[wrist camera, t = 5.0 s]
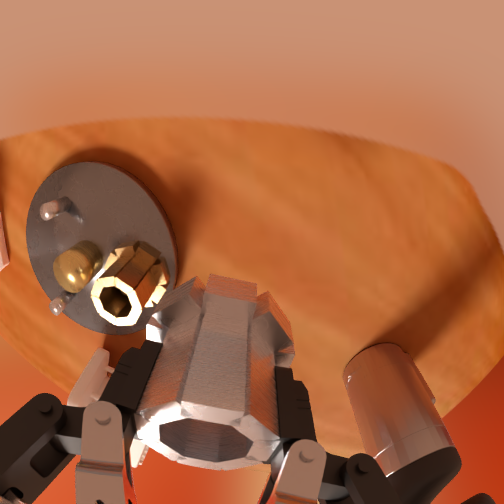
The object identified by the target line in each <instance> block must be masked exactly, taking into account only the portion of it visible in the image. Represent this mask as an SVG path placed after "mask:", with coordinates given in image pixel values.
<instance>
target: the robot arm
mask: <svg viewBox="0 0 504 504" xmlns="http://www.w3.org/2000/svg"><path fill="white" fill-rule="evenodd" d="M162 344H163V343H160V342H157V341H153V340H149V339H146V340H145V341H144V343H143V345H142V347H141V349H137V348H133V347H132V348H130V349H129V350H127V351H126V352H125V353H123V355H122V357H121V358H120V360H119V362H118V364H117V366H116V368H115V370H114V372H113V373H112V375H111V377H110V379H109V381H108V383H107V385H106V387H105V389H104V391H103V393H102V395H101V396H100V398H99V400H98V401H96V402H93V403H91V404H89V405H88V406H87V407H74V406H67V405H62V404H61V402H60V400H59V399H58V398H57V397H56V396H54V395H52V394H48V393H42V394H38V395H36V396H35V397H33V398H32V399H31V400H30V401H29V402H27V403H26V404H25V405H24V406H23V407H22V408H21V409H20V410H18V411H17V412H16V413H15V414H14V415H12V416H11V417H10V418H9V419H8V420H7V421H5V422H4V423H3V424H2V425H1V426H0V504H32V503H33V502H34V501H35V500H36V498H37V497H38V496H39V495H40V494H41V493H42V492H43V491H44V490H45V488H47V486H48V485H49V484H50V483H51V482H52V481H53V480H54V479H55V478H56V477H57V475H58V474H59V473H60V472H61V471H62V470H63V469H64V468H65V467H66V466H67V464H68V463H69V462H70V461H71V460H72V459H73V458H74V457H75V456H76V455H81V459H80V462H79V463H77V465H76V470H75V488H76V504H137V499H136V495H135V491H134V485H133V477H132V466H131V455H130V447H131V444H132V441H133V439H137V440H140V441H141V438H138V434H137V428H136V423H135V417H134V413H135V414H136V410H137V407H138V404H139V402H140V399H141V397H142V394H143V391H144V389H145V386H146V384H147V381H148V379H149V376H150V374H151V371H152V369H153V366H154V364H155V361H156V359H157V356H158V354H159V352H160V349H161V347H162ZM275 377H276V389H277V403H278V416H279V430H280V439H279V441H280V443H279V444H278V446H277V447H276V449H275V450H274V451H273V453H272V454H271V456H270V457H269V459H268V460H267V461H263V464H271V472H270V474H269V475H268V478H267V480H266V483H265V485H264V488H263V490H262V493H261V495H260V498H259V500H258V503H257V504H317V499H318V501H319V503H320V504H430V503H431V502H432V501H433V499H434V498H435V497H436V496H437V495H438V493H439V492H440V491H441V490H442V489H443V488H444V487H445V486H446V485H447V484H448V483H449V482H450V481H451V480H452V479H453V478H454V477H455V476H456V475H457V474H458V472H459V471H460V469H461V465H462V463H461V458H460V456H459V454H458V452H457V449H456V448H455V445H454V443H453V442H452V439H451V437H450V435H449V433H448V431H447V429H446V427H445V426H444V423H443V421H442V420H441V418H440V416H439V414H438V412H437V410H436V408H435V406H434V403H435V397H434V395H433V394H432V392H431V390H430V388H429V387H428V385H427V383H426V381H425V380H424V378H423V376H422V375H421V373H420V371H419V370H418V368H417V366H416V365H415V363H414V361H413V360H412V358H411V357H410V355H409V353H404V352H403V351H402V349H401V348H400V347H399V346H398V345H395V344H391V343H383V344H378V345H374V346H372V347H370V348H367V349H366V350H364V351H362V352H360V353H359V354H358V355H357V356H355V357H354V358H353V359H352V360H351V361H350V362H349V364H348V365H347V367H346V368H345V371H344V374H343V380H344V383H345V387H346V390H347V393H348V396H349V399H350V402H351V405H352V409H353V412H354V415H355V418H356V421H357V424H358V428H359V431H360V434H361V438H362V441H363V444H364V448H365V451H366V454H364V453H359V454H355V455H353V456H351V457H350V458H344V457H340V456H336V455H332V454H330V453H328V452H326V451H325V450H324V448H323V447H322V446H321V445H320V444H319V443H318V442H317V439H316V434H315V429H314V423H313V417H312V412H311V406H310V402H309V395H308V390H307V389H306V387H305V386H304V384H303V383H302V381H296V380H294V379H293V372H292V369H291V368H287V367H280V366H275ZM461 504H495V502H494V500H493V499H492V498H491V497H490V496H489V495H487V494H485V493H479V494H477V495H475V496H473V497H471V498H469V499H468V500H466V501H464V502H463V503H461Z"/></svg>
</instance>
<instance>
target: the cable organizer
mask: <svg viewBox="0 0 504 504" xmlns="http://www.w3.org/2000/svg"><path fill="white" fill-rule="evenodd" d="M109 356H110V353H109V351H107V350H105V349H103V348H101V347H99V348H98V349H97V350H96V351H95V353H94V355H93V356H92V358H91V359H90V361H89V363H88V364H87V366H86V367H85V369H84V371H83V372H82V374H81V376H80V377H79V379H78V381H77V382H76V384H75V386H74V387H73V389H72V391H71V393H70V395H69V398H68V402H67V406H74V407H87V406H88V405H89V404H91V403H93V402H96V401H98V400H99V398H100V396H101V395H102V393H103V391H104V389H105V387H106V385H107V383H108V381H109V379H110V377H108V376H107V371H108V372H110V373H113V372H114V370H115V369H114V368H112V367H110V366H108V364H109ZM149 447H150V446H148V445H147V444H145V443H144V442H142V441H140V440H137V439H133V441H132V444H131V447H130V455H131V466H132V467H135V468H136V467H137V466H138V464H140V465H142V462H143V460H144V458H145V456H146V453H147V452H148V448H149Z"/></svg>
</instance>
